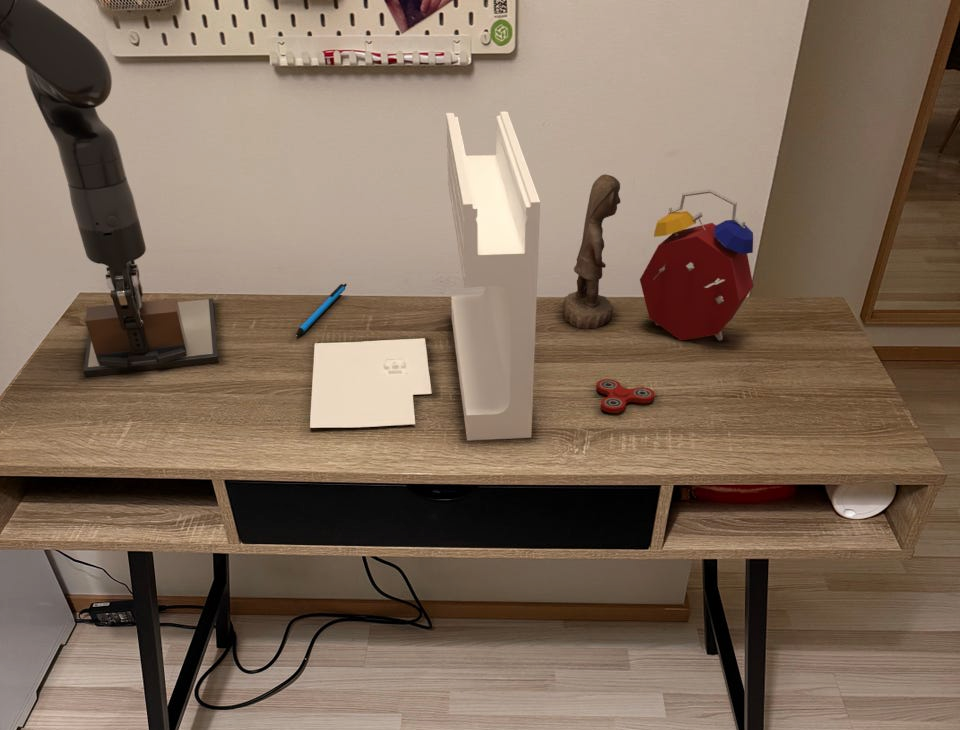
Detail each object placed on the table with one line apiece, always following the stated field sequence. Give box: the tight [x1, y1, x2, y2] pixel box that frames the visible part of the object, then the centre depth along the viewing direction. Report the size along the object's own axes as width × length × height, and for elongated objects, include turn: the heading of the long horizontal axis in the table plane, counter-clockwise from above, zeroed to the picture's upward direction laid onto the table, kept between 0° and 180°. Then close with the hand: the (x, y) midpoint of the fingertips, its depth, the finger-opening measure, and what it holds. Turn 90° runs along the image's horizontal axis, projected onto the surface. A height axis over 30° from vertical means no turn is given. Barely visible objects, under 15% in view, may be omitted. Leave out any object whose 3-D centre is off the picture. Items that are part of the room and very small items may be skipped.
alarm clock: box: [639, 189, 754, 341], centre depth 130 cm, size 15×9×20 cm, turn 59°
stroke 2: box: [128, 351, 159, 362], centre depth 129 cm, size 4×1×1 cm, turn 104°
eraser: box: [84, 297, 187, 362], centre depth 129 cm, size 12×4×6 cm, turn 104°
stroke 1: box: [99, 357, 131, 367], centre depth 128 cm, size 4×1×1 cm, turn 85°
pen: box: [295, 283, 347, 337], centre depth 143 cm, size 1×19×1 cm, turn 164°
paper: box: [309, 337, 432, 429], centre depth 126 cm, size 25×17×1 cm
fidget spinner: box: [595, 378, 656, 414], centre depth 123 cm, size 8×7×1 cm
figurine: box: [562, 174, 621, 330], centre depth 135 cm, size 9×8×20 cm
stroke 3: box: [155, 348, 187, 364], centre depth 129 cm, size 4×1×1 cm, turn 124°
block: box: [445, 111, 541, 441], centre depth 119 cm, size 35×8×28 cm, turn 4°
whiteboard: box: [83, 298, 220, 378], centre depth 136 cm, size 18×20×1 cm
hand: (141, 343), depth 131 cm, fingers closed on eraser, 4 cm apart
